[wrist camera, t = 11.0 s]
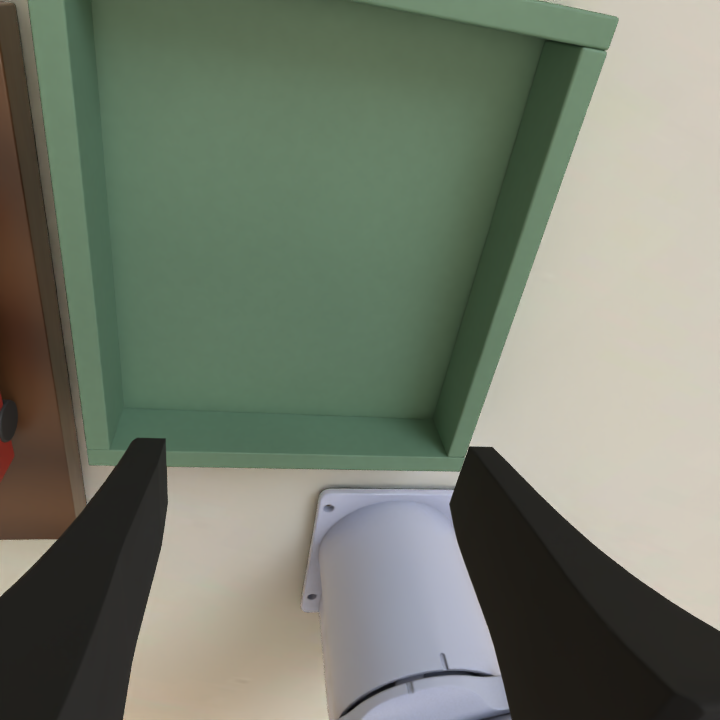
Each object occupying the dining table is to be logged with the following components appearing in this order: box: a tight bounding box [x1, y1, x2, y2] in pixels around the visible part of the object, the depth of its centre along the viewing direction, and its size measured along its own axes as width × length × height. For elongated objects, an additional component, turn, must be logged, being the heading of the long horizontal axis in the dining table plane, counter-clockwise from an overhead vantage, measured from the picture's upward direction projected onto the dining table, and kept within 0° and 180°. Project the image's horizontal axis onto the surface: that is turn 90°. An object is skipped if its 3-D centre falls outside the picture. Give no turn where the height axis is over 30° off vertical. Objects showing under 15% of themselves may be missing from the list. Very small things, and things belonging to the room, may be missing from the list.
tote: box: [28, 0, 618, 472], centre depth 19 cm, size 17×15×3 cm
